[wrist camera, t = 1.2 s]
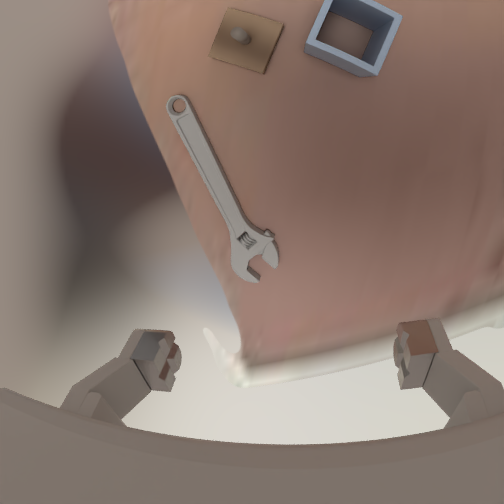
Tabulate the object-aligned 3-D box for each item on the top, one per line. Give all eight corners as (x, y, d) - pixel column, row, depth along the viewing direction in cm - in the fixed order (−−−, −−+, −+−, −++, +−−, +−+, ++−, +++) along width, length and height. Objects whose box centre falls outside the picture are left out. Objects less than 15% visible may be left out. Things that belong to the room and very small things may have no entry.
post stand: (230, 10, 26) (217, -3, 21) (283, 26, 27) (281, 14, 22) (211, 57, 30) (195, 53, 24) (263, 74, 30) (257, 72, 25)
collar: (324, 4, 25) (332, -18, 18) (380, 29, 25) (403, 16, 18) (303, 52, 28) (305, 42, 21) (359, 77, 29) (377, 75, 22)
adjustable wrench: (166, 100, 33) (160, 101, 32) (216, 78, 31) (212, 78, 30) (241, 278, 44) (239, 285, 42) (287, 267, 42) (286, 275, 40)
